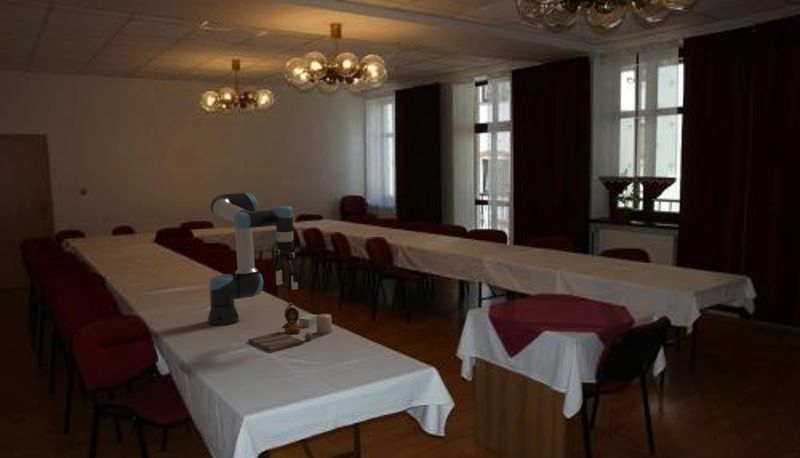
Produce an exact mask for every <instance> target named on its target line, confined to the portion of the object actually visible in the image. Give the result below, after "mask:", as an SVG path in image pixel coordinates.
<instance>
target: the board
mask: <svg viewBox="0 0 800 458" xmlns="http://www.w3.org/2000/svg"><path fill="white" fill-rule="evenodd" d="M247 340H248V343H249V344H251V345H254V346H257V347H258V348H260V349H263V350H265V351H267V352H269V353H274V352H275V353H276V352H278V351H283V350H286V349H290V348H293V347H298V346H301V345H304V340H303V339H299V338H298V337H296V336H295V337H294V336H292V335H291V334H289V335H287V334H286V333H285V332H281V331H276V332H272V333H267V334H264V335H260V336H255V337H249V338H248V339H247Z"/></svg>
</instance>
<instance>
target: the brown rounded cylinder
mask: <svg viewBox="0 0 800 458" xmlns="http://www.w3.org/2000/svg"><path fill="white" fill-rule="evenodd" d="M316 315H317V316H316V320H317V324H316V334H317V335H322V336H323V335H324V336H325V335H329V334H331V333H332V332H333V329H332V327H333V325H332V322H333V321H332V315H331V314H329V313H321V314H316Z"/></svg>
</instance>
